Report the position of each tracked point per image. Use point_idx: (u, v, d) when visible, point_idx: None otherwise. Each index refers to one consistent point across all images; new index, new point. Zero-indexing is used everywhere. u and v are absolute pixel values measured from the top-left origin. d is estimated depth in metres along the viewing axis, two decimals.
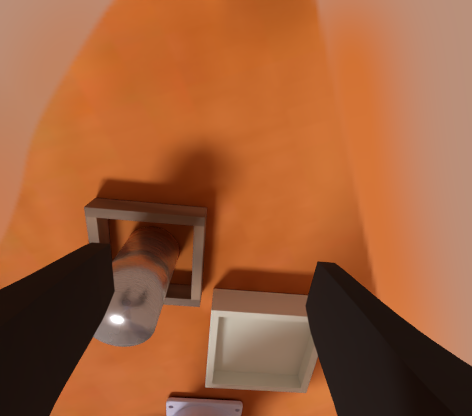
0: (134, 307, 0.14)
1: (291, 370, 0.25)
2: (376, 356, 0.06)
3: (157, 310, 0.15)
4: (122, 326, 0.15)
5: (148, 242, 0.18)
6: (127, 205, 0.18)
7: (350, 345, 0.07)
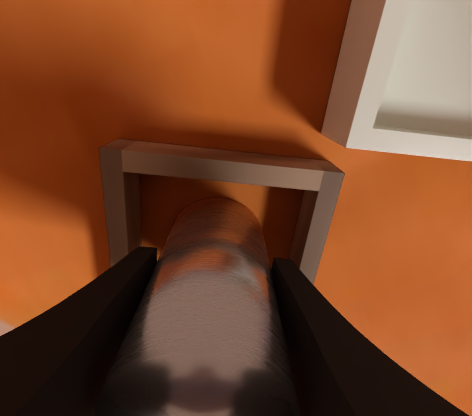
0: (144, 392, 0.05)
1: None
2: (307, 351, 0.06)
3: (188, 328, 0.05)
4: None
5: None
6: None
7: (292, 340, 0.07)
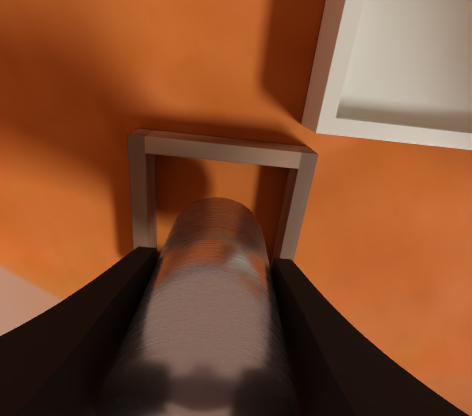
0: (144, 390, 0.05)
1: None
2: (307, 351, 0.06)
3: (188, 326, 0.05)
4: None
5: None
6: None
7: (291, 341, 0.07)
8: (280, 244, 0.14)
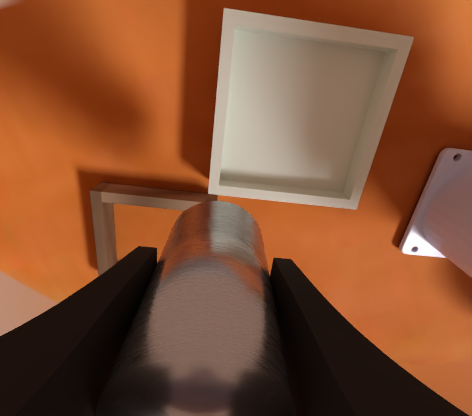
0: (148, 393, 0.05)
1: (369, 66, 0.15)
2: (307, 351, 0.06)
3: (195, 332, 0.05)
4: None
5: (159, 258, 0.10)
6: None
7: (292, 341, 0.07)
8: None
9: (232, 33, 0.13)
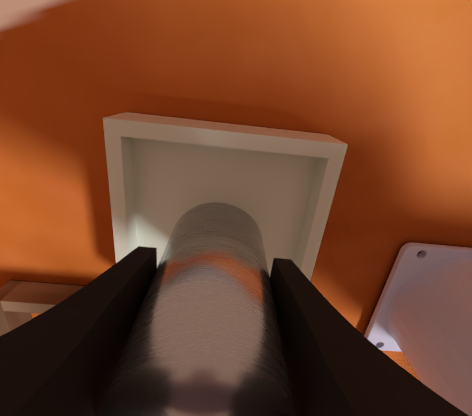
0: (152, 394, 0.05)
1: (301, 166, 0.12)
2: (307, 351, 0.06)
3: (203, 335, 0.05)
4: None
5: None
6: None
7: (291, 341, 0.07)
8: None
9: (118, 144, 0.10)
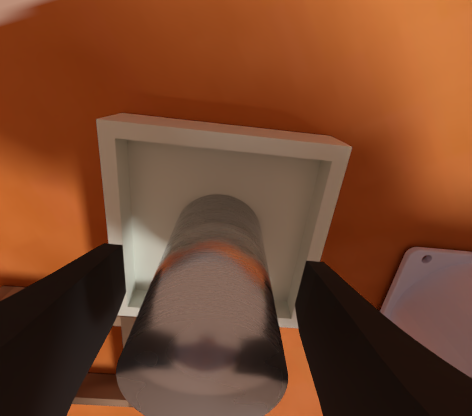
0: (164, 349, 0.06)
1: (303, 169, 0.11)
2: (358, 355, 0.06)
3: (207, 300, 0.06)
4: (223, 380, 0.06)
5: (167, 243, 0.10)
6: None
7: (334, 344, 0.07)
8: None
9: (113, 147, 0.10)
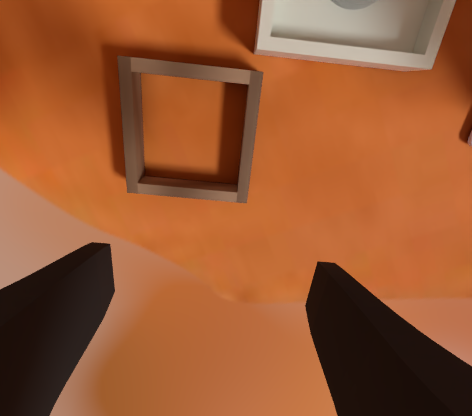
0: None
1: None
2: (376, 356, 0.06)
3: None
4: None
5: None
6: None
7: (350, 345, 0.07)
8: (241, 154, 0.17)
9: None
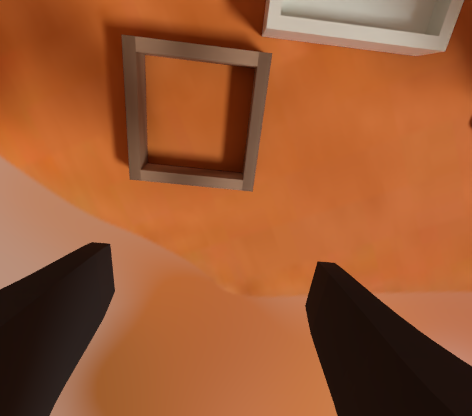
0: None
1: None
2: (376, 356, 0.06)
3: None
4: None
5: None
6: None
7: (350, 345, 0.07)
8: (247, 141, 0.17)
9: None
